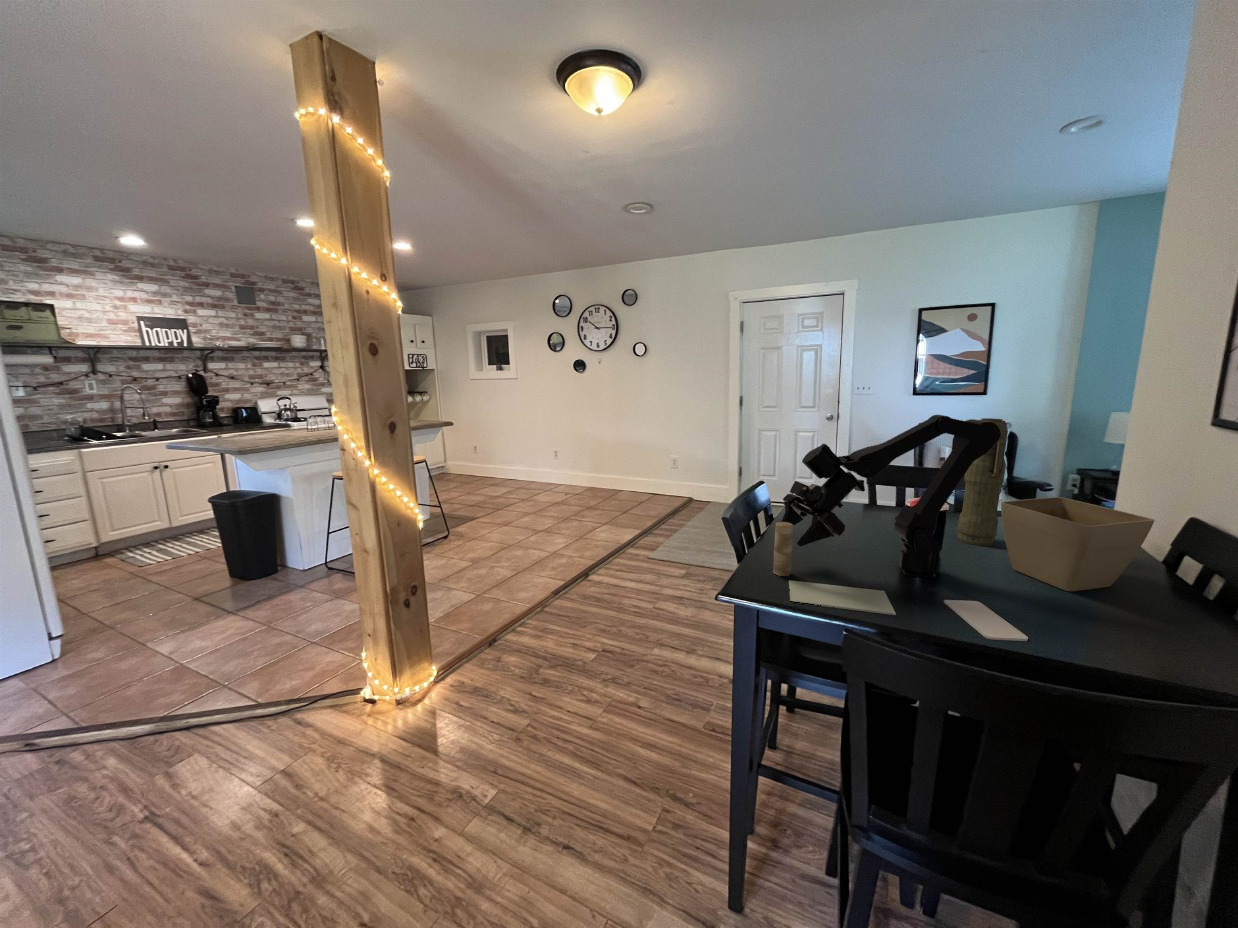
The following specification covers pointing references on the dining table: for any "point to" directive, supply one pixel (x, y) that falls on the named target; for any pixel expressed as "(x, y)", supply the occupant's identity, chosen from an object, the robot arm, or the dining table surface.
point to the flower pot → (1071, 541)
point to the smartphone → (985, 620)
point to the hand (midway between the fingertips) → (787, 538)
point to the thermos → (983, 493)
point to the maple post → (783, 548)
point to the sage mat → (841, 597)
